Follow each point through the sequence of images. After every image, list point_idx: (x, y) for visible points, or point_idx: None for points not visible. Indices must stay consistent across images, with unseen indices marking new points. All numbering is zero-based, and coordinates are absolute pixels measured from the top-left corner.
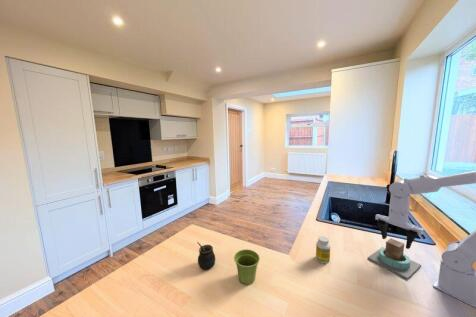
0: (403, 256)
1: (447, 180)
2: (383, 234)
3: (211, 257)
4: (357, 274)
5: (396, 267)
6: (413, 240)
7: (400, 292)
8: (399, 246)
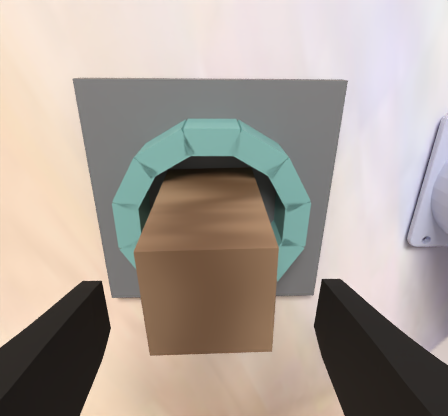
0: (255, 167)
1: None
2: (82, 398)
3: None
4: (165, 408)
5: None
6: (417, 344)
7: (307, 373)
8: (263, 340)
